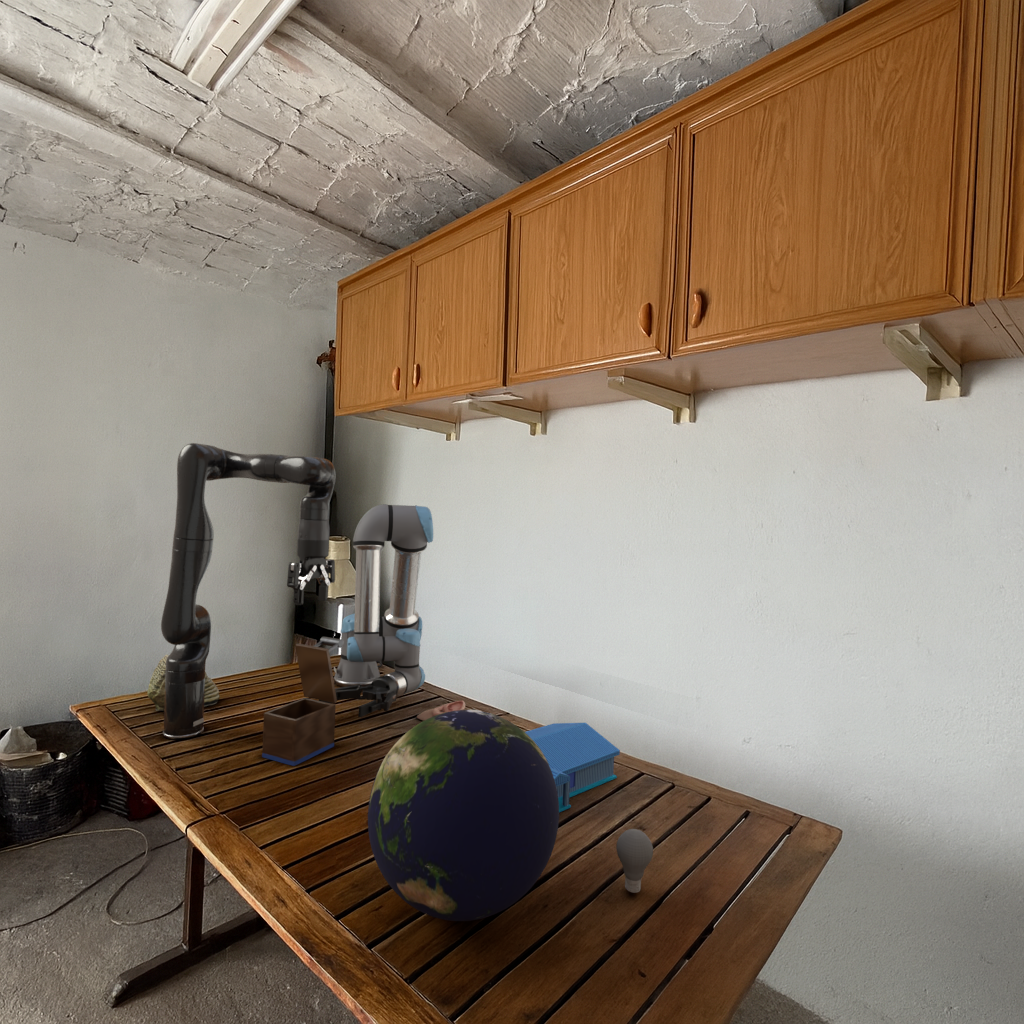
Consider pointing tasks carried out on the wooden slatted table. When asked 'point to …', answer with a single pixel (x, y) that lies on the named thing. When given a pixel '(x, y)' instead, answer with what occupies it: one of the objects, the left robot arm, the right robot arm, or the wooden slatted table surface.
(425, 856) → the globe
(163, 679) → the fossil
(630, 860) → the light bulb
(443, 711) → the anatomical model
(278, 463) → the left robot arm
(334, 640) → the lid
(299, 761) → the chest
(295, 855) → the wooden slatted table surface
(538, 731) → the model building
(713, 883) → the wooden slatted table surface
